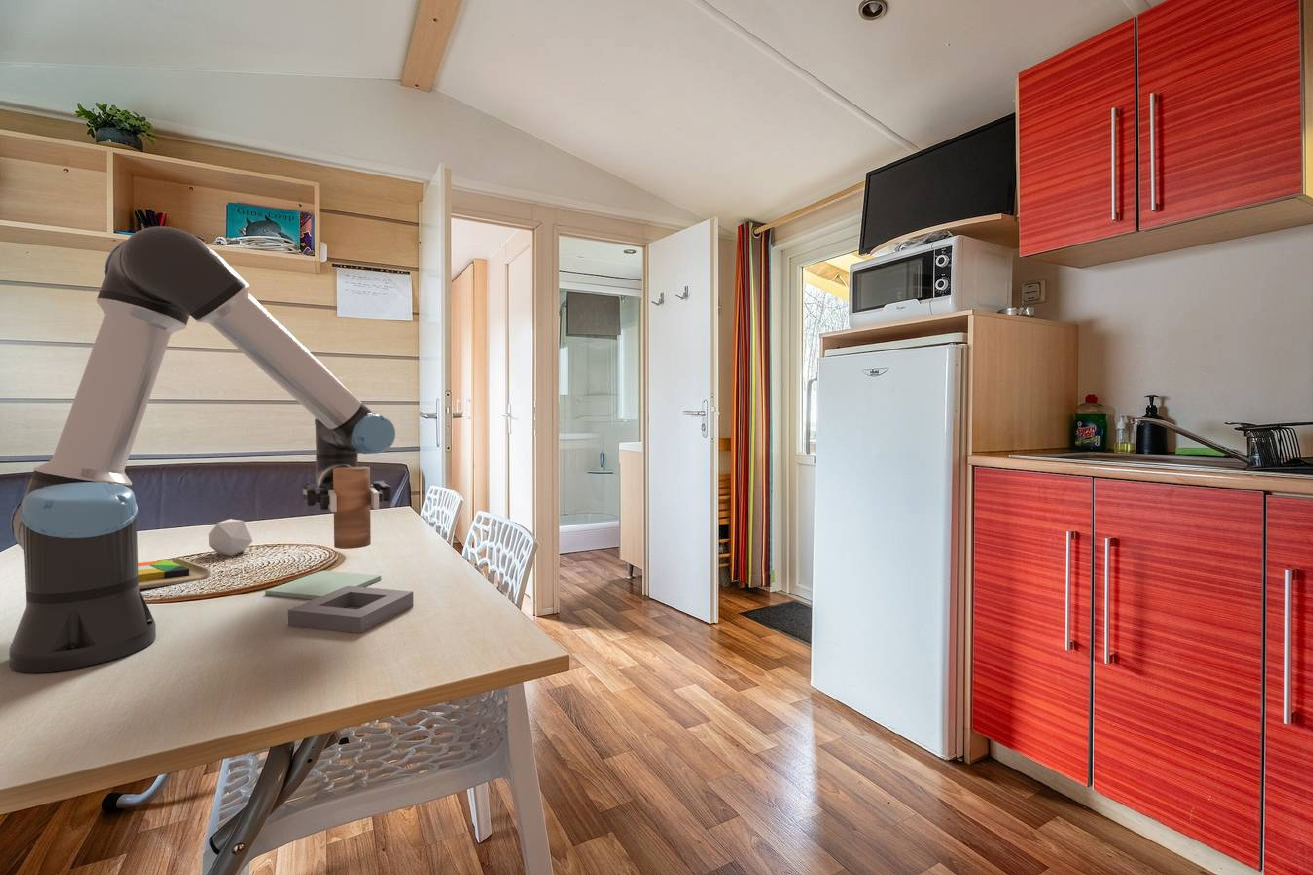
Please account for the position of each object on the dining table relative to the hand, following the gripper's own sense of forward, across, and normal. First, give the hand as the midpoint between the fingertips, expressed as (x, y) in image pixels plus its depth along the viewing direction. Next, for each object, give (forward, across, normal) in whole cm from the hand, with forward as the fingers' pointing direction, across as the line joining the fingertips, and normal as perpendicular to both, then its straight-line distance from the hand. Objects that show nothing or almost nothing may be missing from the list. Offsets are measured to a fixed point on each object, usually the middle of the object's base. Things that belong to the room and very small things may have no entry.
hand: (355, 502), depth 97 cm
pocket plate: (-5, 0, -20) cm, 21 cm away
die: (-64, +20, -20) cm, 70 cm away
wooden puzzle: (-47, +34, -21) cm, 62 cm away
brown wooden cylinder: (-5, 0, -8) cm, 10 cm away
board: (-25, +3, -20) cm, 32 cm away
